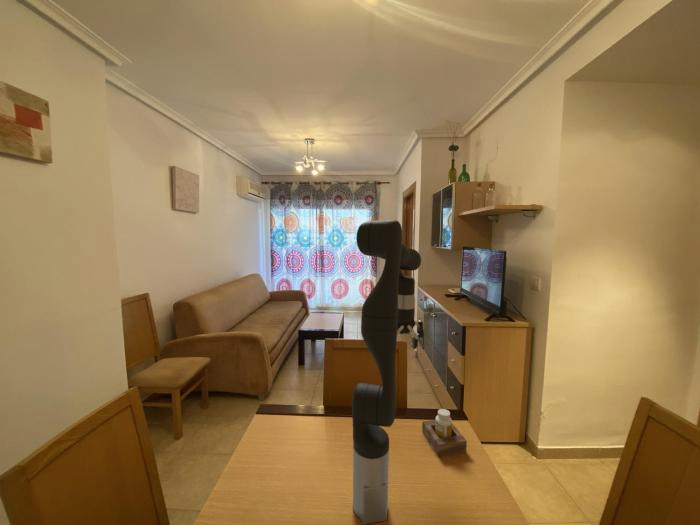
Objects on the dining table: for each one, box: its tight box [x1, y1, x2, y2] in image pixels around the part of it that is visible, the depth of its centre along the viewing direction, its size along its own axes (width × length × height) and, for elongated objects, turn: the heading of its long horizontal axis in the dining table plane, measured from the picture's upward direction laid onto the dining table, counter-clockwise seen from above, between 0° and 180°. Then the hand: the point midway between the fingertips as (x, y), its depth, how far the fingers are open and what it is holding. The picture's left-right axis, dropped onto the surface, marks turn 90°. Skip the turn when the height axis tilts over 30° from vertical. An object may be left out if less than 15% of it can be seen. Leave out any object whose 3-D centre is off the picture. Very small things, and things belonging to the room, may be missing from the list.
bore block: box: [421, 419, 467, 457], centre depth 103 cm, size 12×10×4 cm
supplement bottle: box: [435, 408, 453, 438], centre depth 102 cm, size 5×5×10 cm
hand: (403, 349), depth 109 cm, fingers open, 8 cm apart
